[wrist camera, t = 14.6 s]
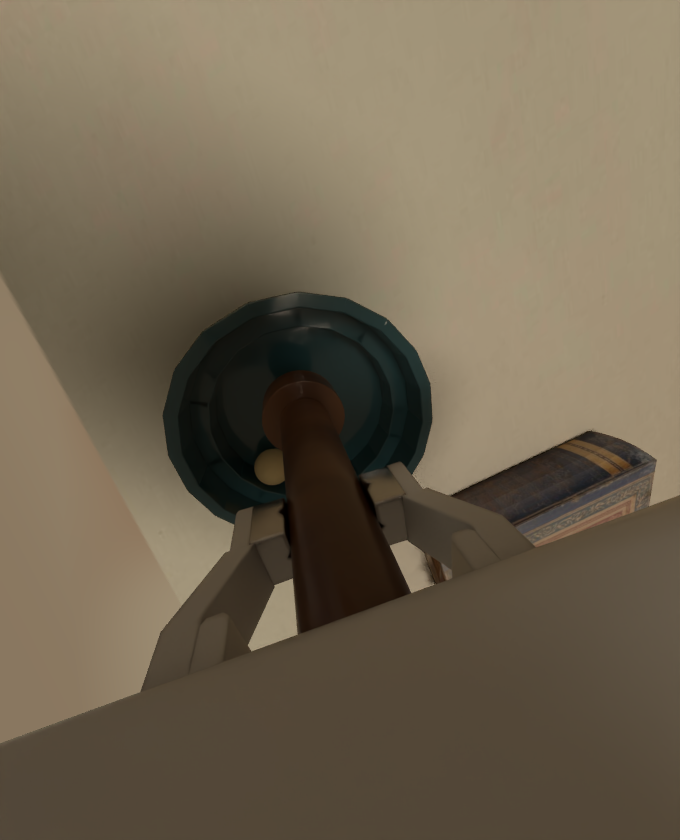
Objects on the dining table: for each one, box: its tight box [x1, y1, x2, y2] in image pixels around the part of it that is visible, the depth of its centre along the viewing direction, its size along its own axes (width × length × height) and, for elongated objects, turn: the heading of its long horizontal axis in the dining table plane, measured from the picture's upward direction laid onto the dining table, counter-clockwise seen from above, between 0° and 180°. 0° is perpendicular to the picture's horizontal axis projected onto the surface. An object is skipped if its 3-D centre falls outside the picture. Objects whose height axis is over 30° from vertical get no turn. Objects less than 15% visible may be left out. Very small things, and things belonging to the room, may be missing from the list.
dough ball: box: [254, 449, 285, 485], centre depth 23 cm, size 3×3×3 cm
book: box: [424, 431, 657, 584], centre depth 33 cm, size 17×7×25 cm
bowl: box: [163, 292, 432, 525], centre depth 21 cm, size 18×18×6 cm
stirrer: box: [262, 370, 411, 634], centre depth 10 cm, size 4×4×16 cm
